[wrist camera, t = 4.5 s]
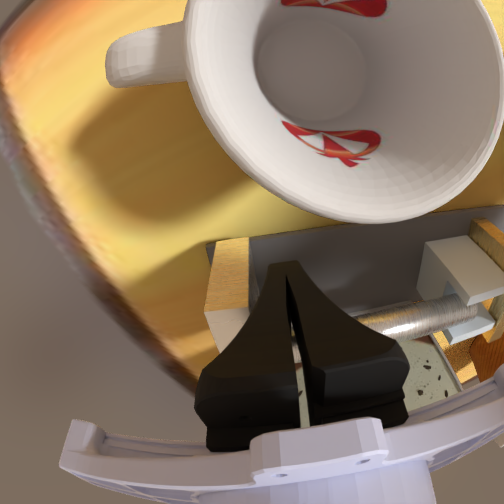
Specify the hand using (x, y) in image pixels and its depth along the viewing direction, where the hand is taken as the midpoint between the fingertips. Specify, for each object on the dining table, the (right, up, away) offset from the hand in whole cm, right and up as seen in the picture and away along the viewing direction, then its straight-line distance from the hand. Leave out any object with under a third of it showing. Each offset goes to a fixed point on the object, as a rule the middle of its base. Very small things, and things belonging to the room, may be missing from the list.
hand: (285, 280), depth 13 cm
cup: (0, +9, -2) cm, 10 cm away
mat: (+7, 0, +4) cm, 8 cm away
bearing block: (+11, +1, +3) cm, 11 cm away
